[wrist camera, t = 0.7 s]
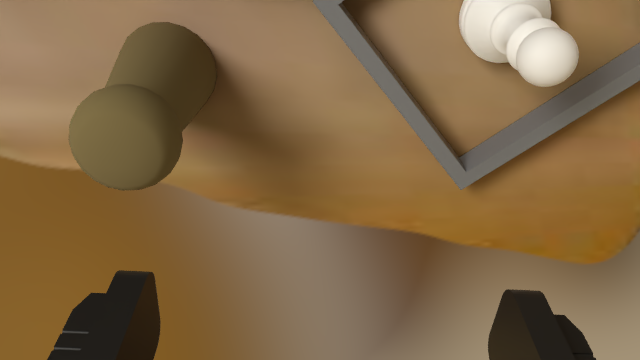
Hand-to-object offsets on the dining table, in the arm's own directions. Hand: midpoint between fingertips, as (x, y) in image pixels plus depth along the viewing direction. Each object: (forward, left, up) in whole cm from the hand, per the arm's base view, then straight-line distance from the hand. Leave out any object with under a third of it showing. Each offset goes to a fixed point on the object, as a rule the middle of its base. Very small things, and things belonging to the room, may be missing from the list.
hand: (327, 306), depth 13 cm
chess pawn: (-9, +7, -24) cm, 26 cm away
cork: (+9, -3, -24) cm, 26 cm away
